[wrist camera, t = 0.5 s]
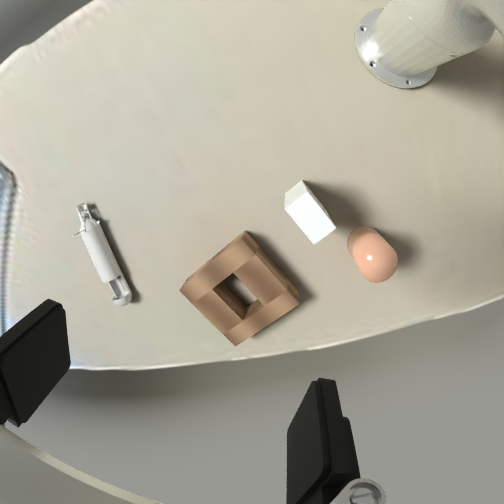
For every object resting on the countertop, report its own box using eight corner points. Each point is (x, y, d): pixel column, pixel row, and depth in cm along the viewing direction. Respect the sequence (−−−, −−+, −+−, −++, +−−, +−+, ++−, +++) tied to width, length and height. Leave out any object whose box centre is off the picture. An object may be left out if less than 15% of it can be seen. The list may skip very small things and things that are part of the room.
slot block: (245, 230, 44) (241, 239, 40) (298, 291, 46) (299, 304, 42) (187, 278, 47) (179, 290, 44) (239, 331, 50) (235, 346, 46)
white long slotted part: (141, 295, 50) (125, 315, 44) (121, 302, 51) (103, 321, 45) (96, 196, 45) (72, 205, 39) (76, 207, 46) (52, 217, 40)
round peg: (368, 218, 42) (384, 235, 34) (386, 245, 42) (404, 266, 35) (340, 240, 43) (351, 260, 36) (359, 265, 44) (372, 290, 36)
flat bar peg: (301, 179, 41) (307, 191, 31) (324, 208, 42) (336, 227, 32) (284, 193, 42) (284, 209, 32) (307, 221, 43) (314, 244, 33)
